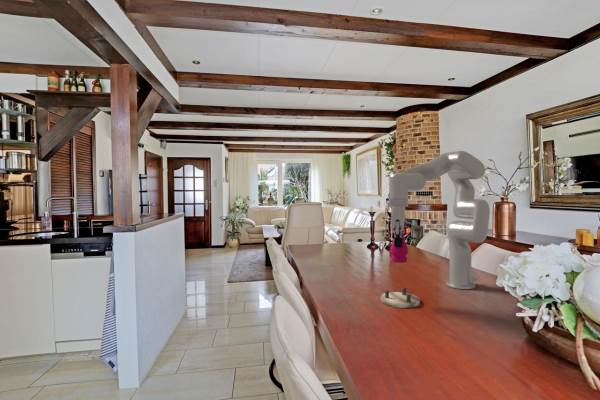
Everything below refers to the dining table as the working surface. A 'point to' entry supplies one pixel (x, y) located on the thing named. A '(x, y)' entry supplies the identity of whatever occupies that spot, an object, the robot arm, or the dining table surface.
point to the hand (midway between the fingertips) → (399, 245)
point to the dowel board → (400, 299)
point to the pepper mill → (399, 249)
